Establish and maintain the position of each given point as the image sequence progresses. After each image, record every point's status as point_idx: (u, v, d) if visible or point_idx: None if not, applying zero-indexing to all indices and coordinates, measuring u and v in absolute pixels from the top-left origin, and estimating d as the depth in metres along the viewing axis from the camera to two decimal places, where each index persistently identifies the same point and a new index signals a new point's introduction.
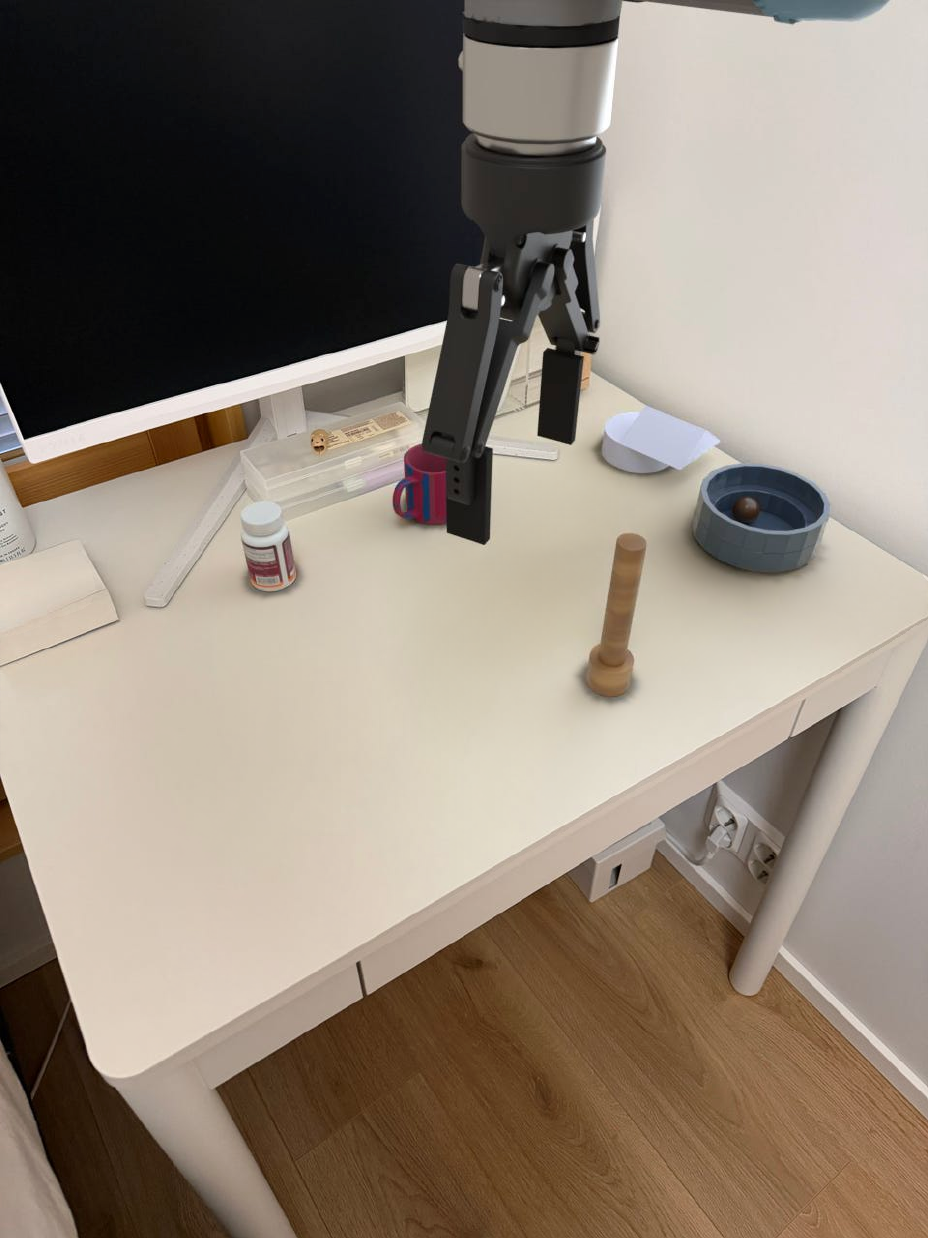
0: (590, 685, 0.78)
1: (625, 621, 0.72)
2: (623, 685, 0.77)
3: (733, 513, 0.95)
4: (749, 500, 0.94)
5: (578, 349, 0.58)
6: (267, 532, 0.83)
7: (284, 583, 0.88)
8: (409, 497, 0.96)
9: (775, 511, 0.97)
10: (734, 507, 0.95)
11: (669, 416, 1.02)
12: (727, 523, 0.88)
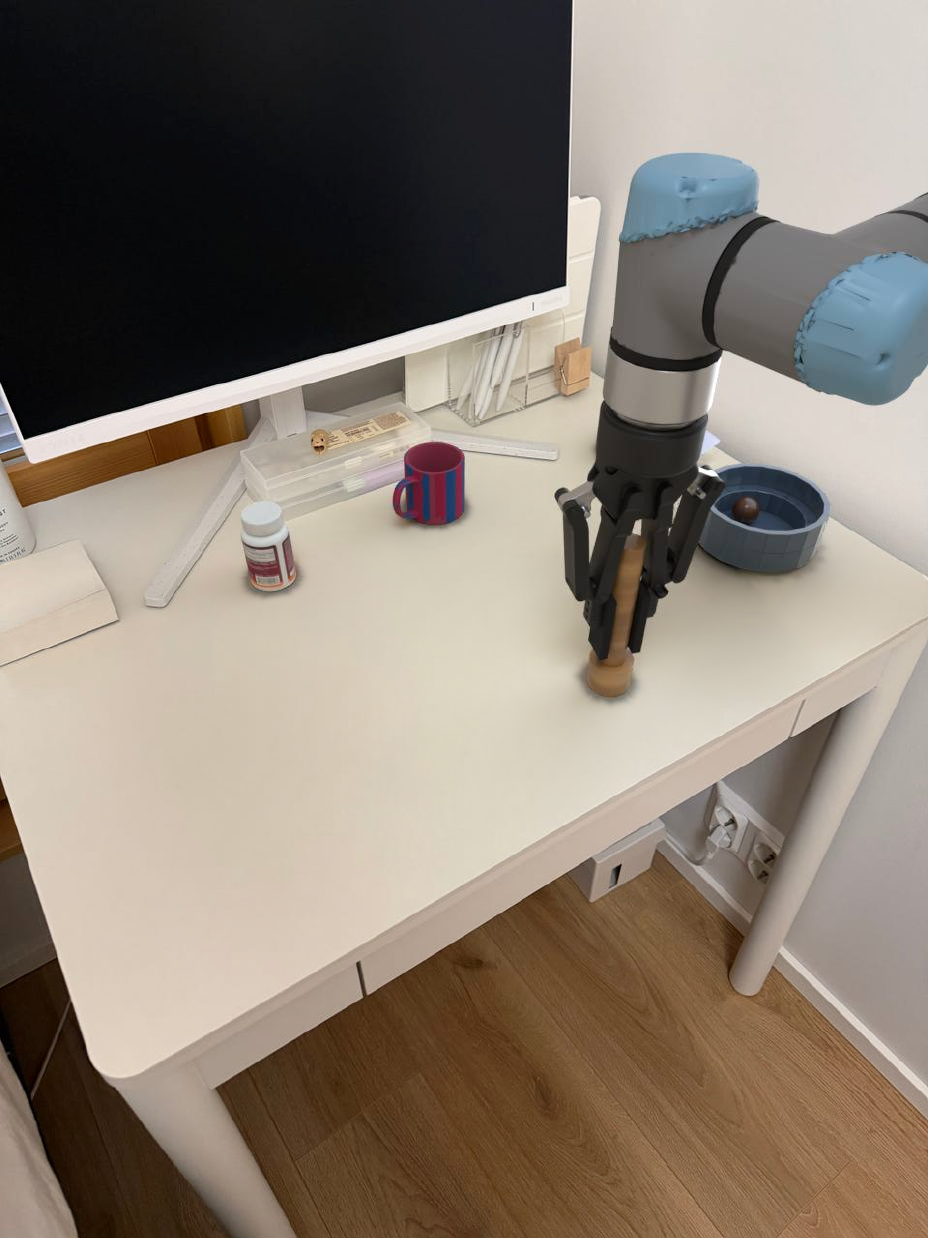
0: (590, 685, 0.78)
1: (625, 621, 0.72)
2: (623, 685, 0.77)
3: (733, 513, 0.95)
4: (749, 500, 0.94)
5: (649, 586, 0.71)
6: (267, 532, 0.83)
7: (284, 583, 0.88)
8: (409, 497, 0.96)
9: (775, 511, 0.97)
10: (734, 507, 0.95)
11: None
12: (727, 523, 0.88)
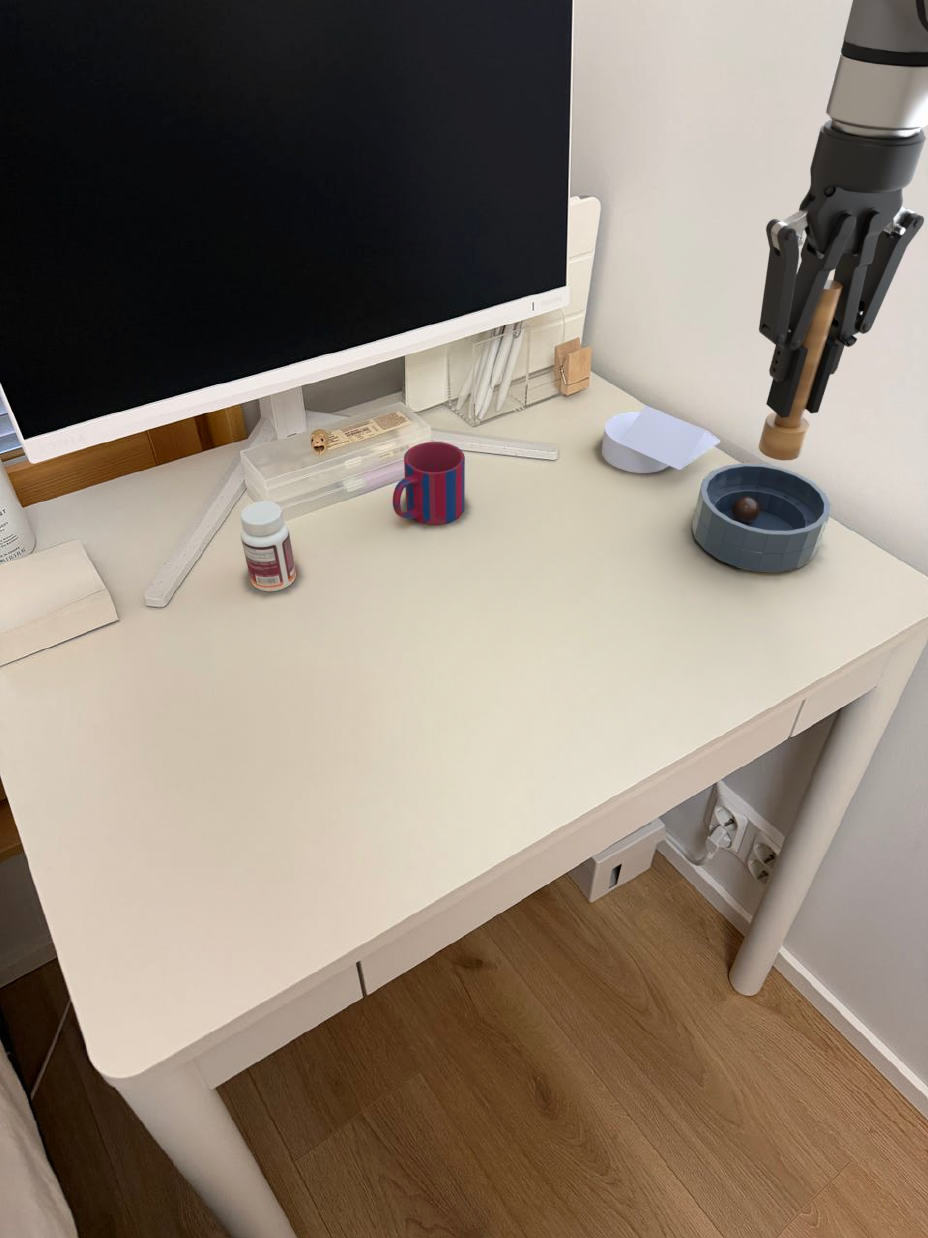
0: (765, 451, 0.82)
1: (810, 373, 0.76)
2: (798, 448, 0.81)
3: (733, 513, 0.95)
4: (749, 500, 0.94)
5: (838, 335, 0.75)
6: (267, 532, 0.83)
7: (284, 583, 0.88)
8: (409, 497, 0.96)
9: (775, 511, 0.97)
10: (734, 507, 0.95)
11: (669, 416, 1.02)
12: (727, 523, 0.88)
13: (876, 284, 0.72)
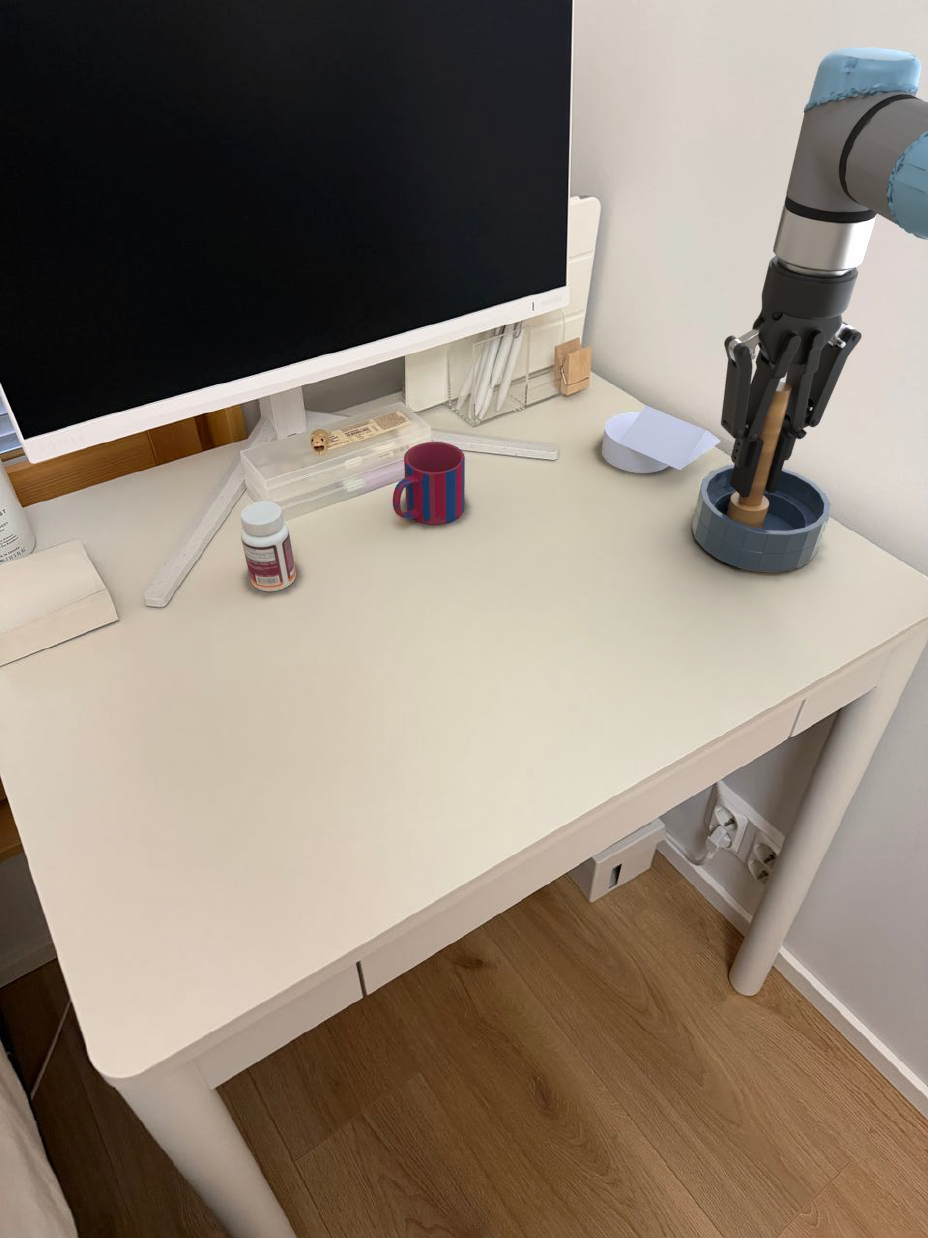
0: None
1: (767, 460, 0.87)
2: (759, 523, 0.91)
3: None
4: None
5: (790, 429, 0.86)
6: (267, 532, 0.83)
7: (284, 583, 0.88)
8: (409, 497, 0.96)
9: (775, 511, 0.97)
10: (728, 504, 0.96)
11: (669, 416, 1.02)
12: (727, 523, 0.88)
13: (822, 387, 0.83)
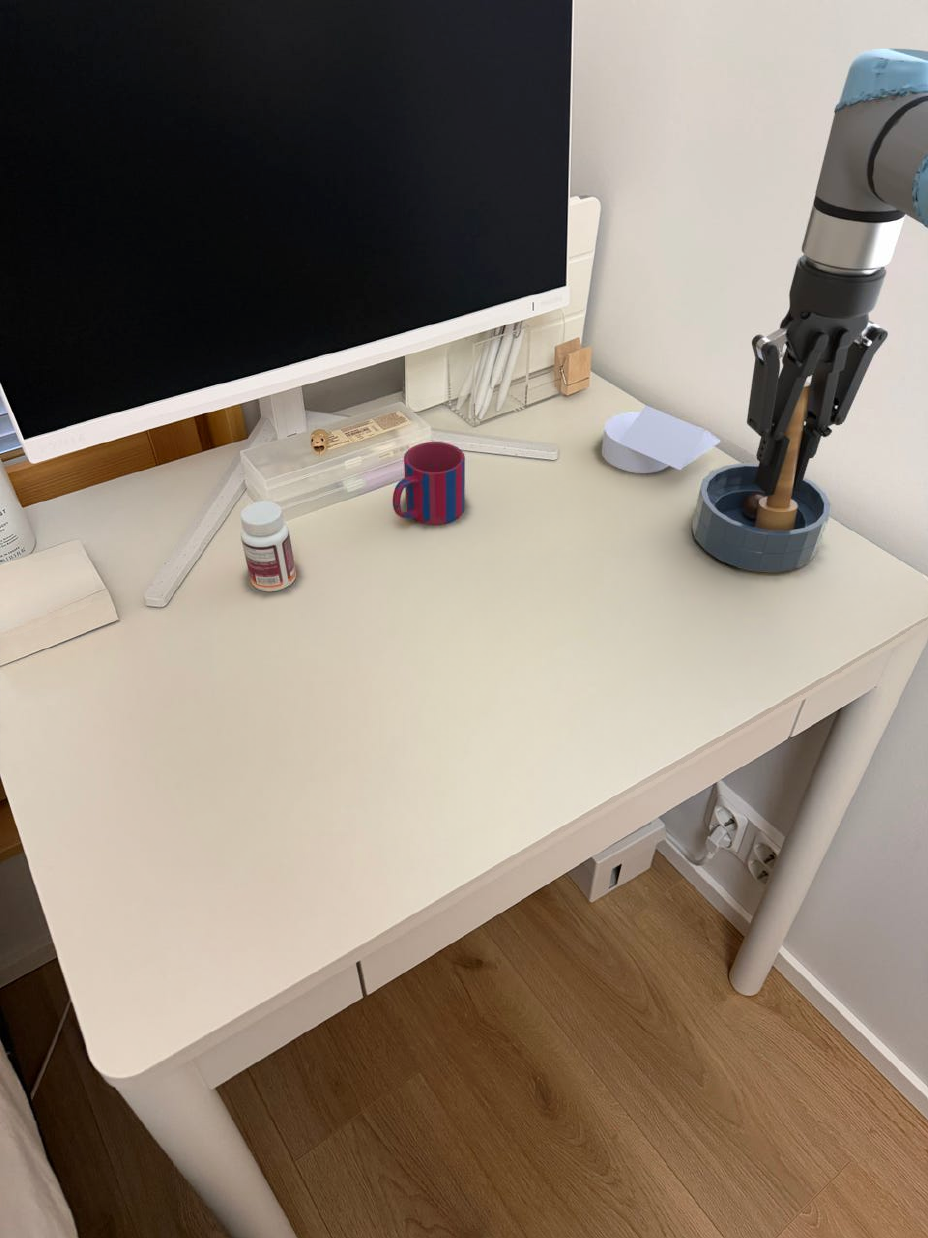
0: (756, 527, 0.93)
1: (788, 459, 0.88)
2: (784, 526, 0.91)
3: (750, 511, 0.95)
4: (762, 495, 0.95)
5: (815, 427, 0.86)
6: (267, 532, 0.83)
7: (284, 583, 0.88)
8: (409, 497, 0.96)
9: None
10: (750, 505, 0.95)
11: (669, 416, 1.02)
12: (727, 523, 0.88)
13: (848, 385, 0.84)
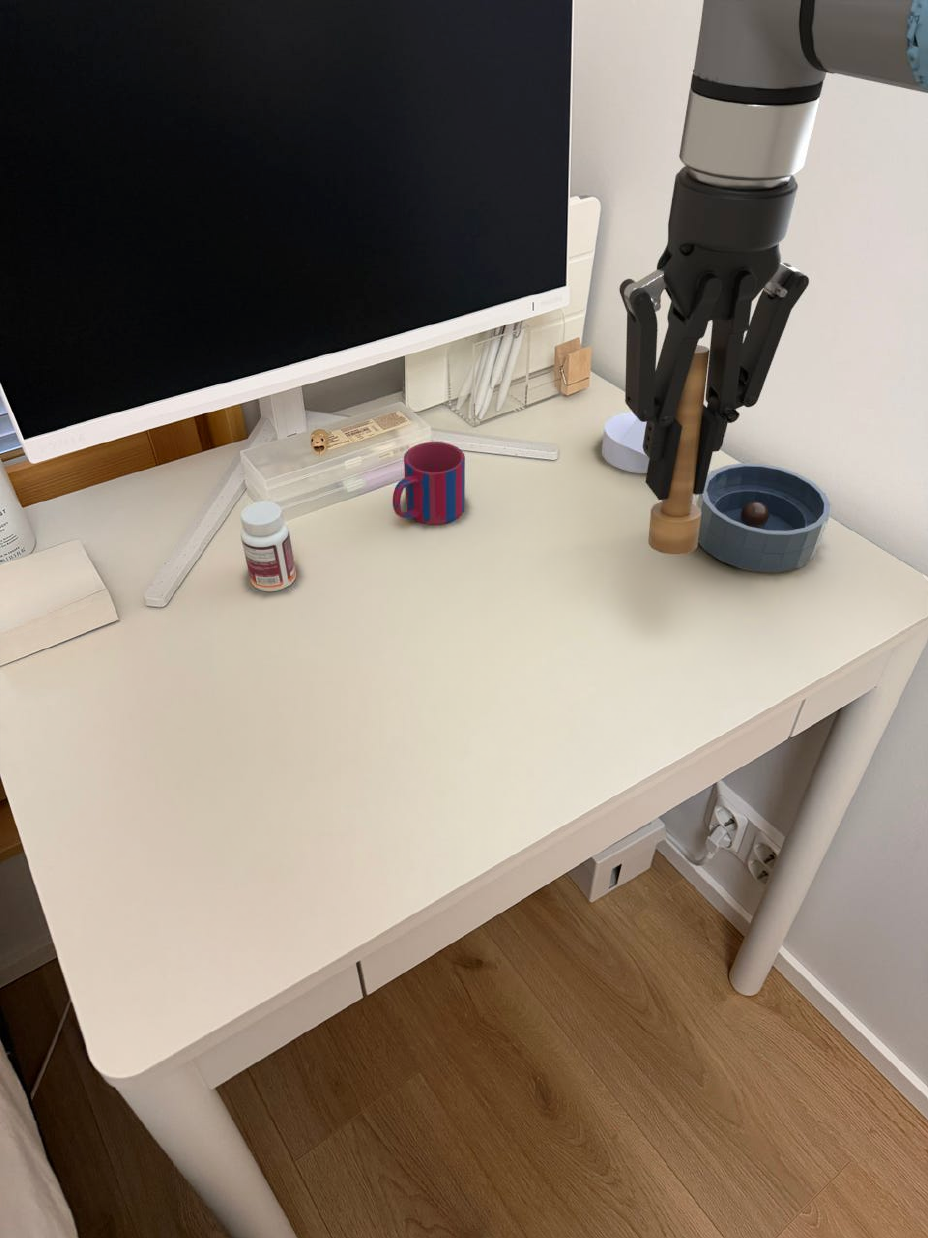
0: (649, 541, 0.71)
1: (684, 452, 0.66)
2: (683, 541, 0.69)
3: None
4: (757, 516, 0.93)
5: (718, 409, 0.64)
6: (267, 532, 0.83)
7: (284, 583, 0.88)
8: (409, 497, 0.96)
9: (775, 511, 0.97)
10: (745, 524, 0.95)
11: None
12: (727, 523, 0.88)
13: (758, 352, 0.62)
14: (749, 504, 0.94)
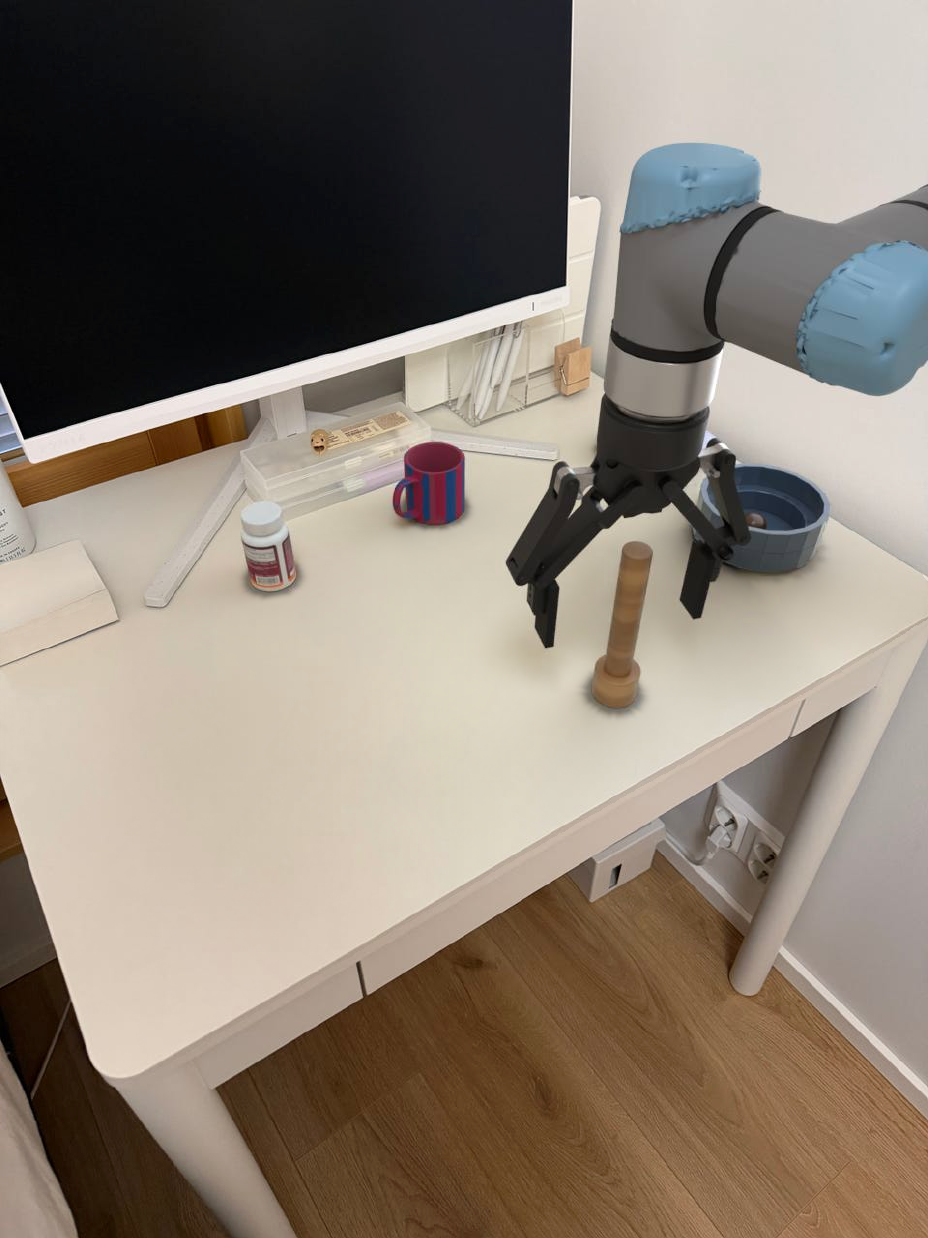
0: (592, 690, 0.77)
1: (626, 631, 0.71)
2: (622, 698, 0.75)
3: None
4: None
5: (714, 552, 0.70)
6: (267, 532, 0.83)
7: (284, 583, 0.88)
8: (409, 497, 0.96)
9: (775, 511, 0.97)
10: None
11: None
12: None
13: (727, 512, 0.67)
14: None
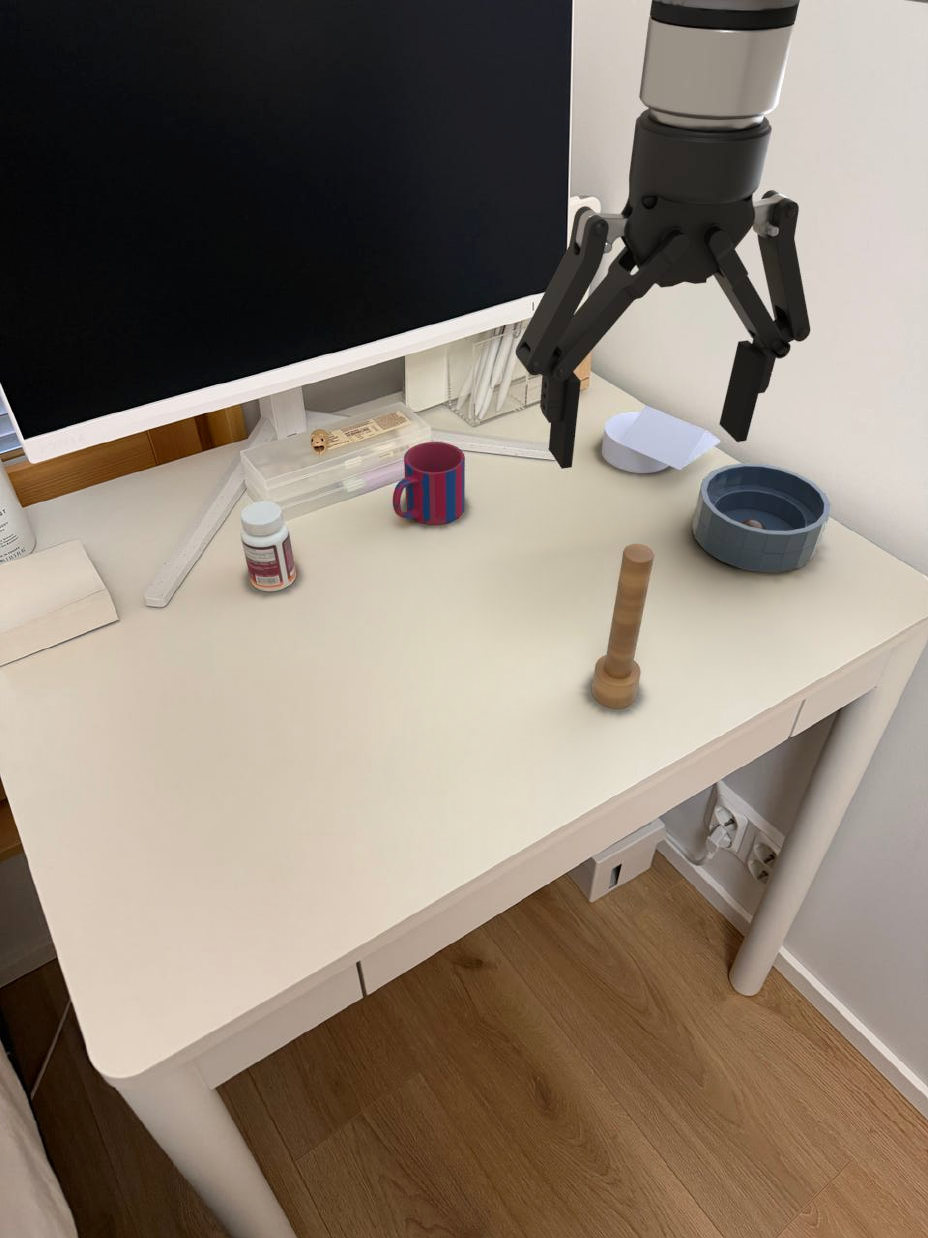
0: (592, 691, 0.77)
1: (626, 633, 0.71)
2: (622, 699, 0.76)
3: None
4: None
5: (766, 348, 0.58)
6: (267, 532, 0.83)
7: (284, 583, 0.88)
8: (409, 497, 0.96)
9: (775, 511, 0.97)
10: None
11: (669, 416, 1.02)
12: (727, 523, 0.88)
13: (783, 291, 0.56)
14: None
